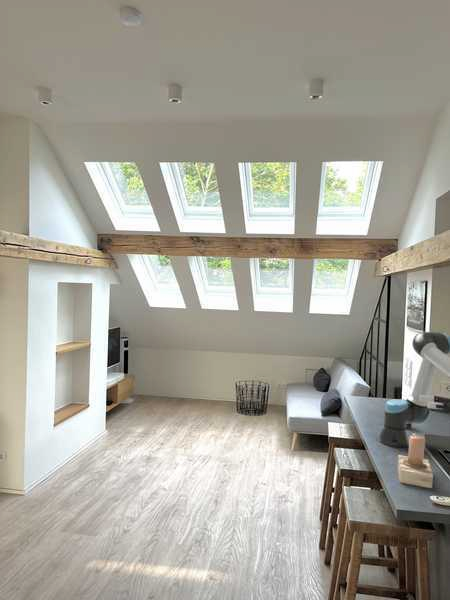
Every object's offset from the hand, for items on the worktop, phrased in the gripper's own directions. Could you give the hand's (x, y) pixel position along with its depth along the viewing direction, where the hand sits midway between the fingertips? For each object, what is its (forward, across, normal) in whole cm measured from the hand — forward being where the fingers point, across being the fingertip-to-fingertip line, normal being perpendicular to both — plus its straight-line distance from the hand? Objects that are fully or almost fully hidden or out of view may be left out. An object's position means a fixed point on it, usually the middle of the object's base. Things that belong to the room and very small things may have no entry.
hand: (423, 401), depth 223 cm
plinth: (+6, -16, -31) cm, 35 cm away
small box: (-9, +70, -32) cm, 78 cm away
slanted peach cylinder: (+6, -15, -25) cm, 30 cm away
